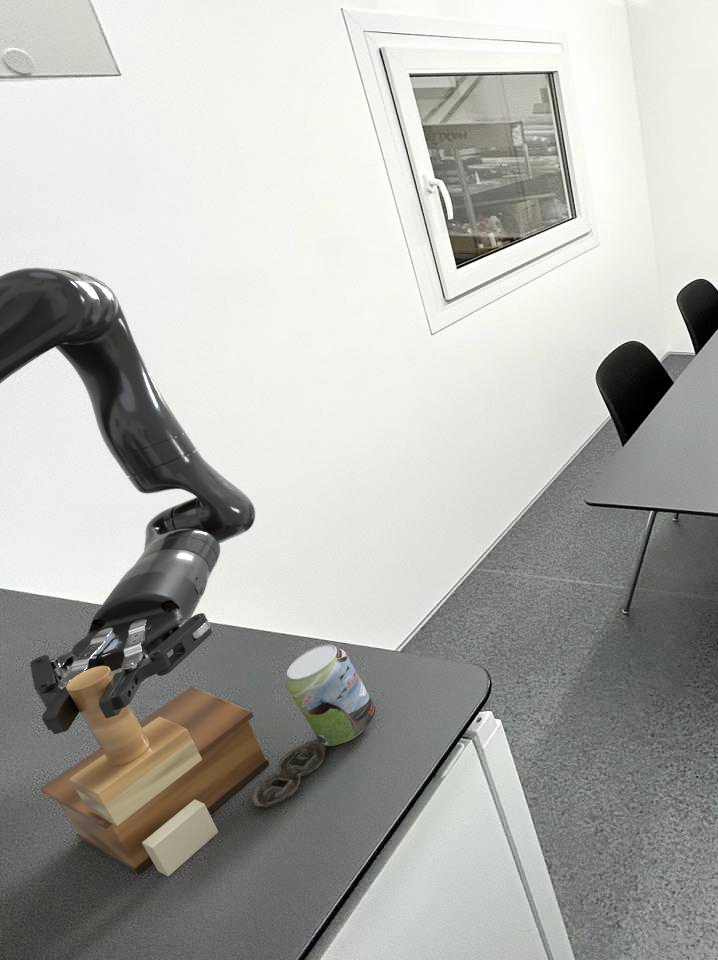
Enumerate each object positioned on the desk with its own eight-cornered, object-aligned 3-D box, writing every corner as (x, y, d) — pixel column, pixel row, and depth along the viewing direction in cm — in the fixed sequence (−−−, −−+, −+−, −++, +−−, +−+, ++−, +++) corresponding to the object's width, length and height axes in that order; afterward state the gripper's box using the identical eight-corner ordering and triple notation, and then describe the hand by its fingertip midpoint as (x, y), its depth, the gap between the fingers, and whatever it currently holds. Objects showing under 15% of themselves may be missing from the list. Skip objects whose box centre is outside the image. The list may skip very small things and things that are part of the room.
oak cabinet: (74, 842, 66) (39, 788, 63) (215, 736, 78) (191, 686, 75) (136, 879, 63) (102, 824, 60) (274, 763, 74) (251, 711, 71)
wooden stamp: (88, 810, 61) (20, 702, 56) (175, 747, 67) (121, 643, 62) (117, 826, 59) (50, 716, 54) (202, 759, 66) (150, 655, 60)
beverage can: (384, 728, 78) (364, 651, 75) (312, 768, 73) (287, 687, 70) (369, 700, 82) (350, 626, 79) (301, 736, 77) (277, 658, 74)
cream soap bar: (141, 842, 62) (151, 848, 61) (194, 799, 66) (204, 803, 65) (158, 871, 63) (168, 877, 63) (208, 827, 67) (218, 832, 67)
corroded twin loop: (241, 809, 69) (237, 803, 69) (302, 743, 76) (300, 737, 76) (281, 814, 68) (278, 808, 68) (339, 747, 76) (337, 741, 76)
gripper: (54, 592, 66) (-54, 721, 52) (224, 552, 72) (169, 657, 58) (84, 647, 69) (-11, 783, 54) (245, 603, 75) (197, 715, 61)
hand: (82, 717), depth 56 cm, fingers closed on wooden stamp, 3 cm apart
